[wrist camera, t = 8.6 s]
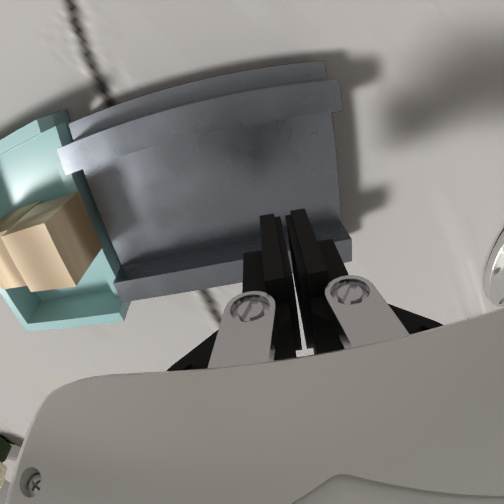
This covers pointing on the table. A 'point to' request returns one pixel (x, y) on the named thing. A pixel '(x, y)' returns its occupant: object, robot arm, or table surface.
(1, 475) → the character mug
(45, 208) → the chip
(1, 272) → the chip
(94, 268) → the tray
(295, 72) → the slot rail
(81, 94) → the table surface
